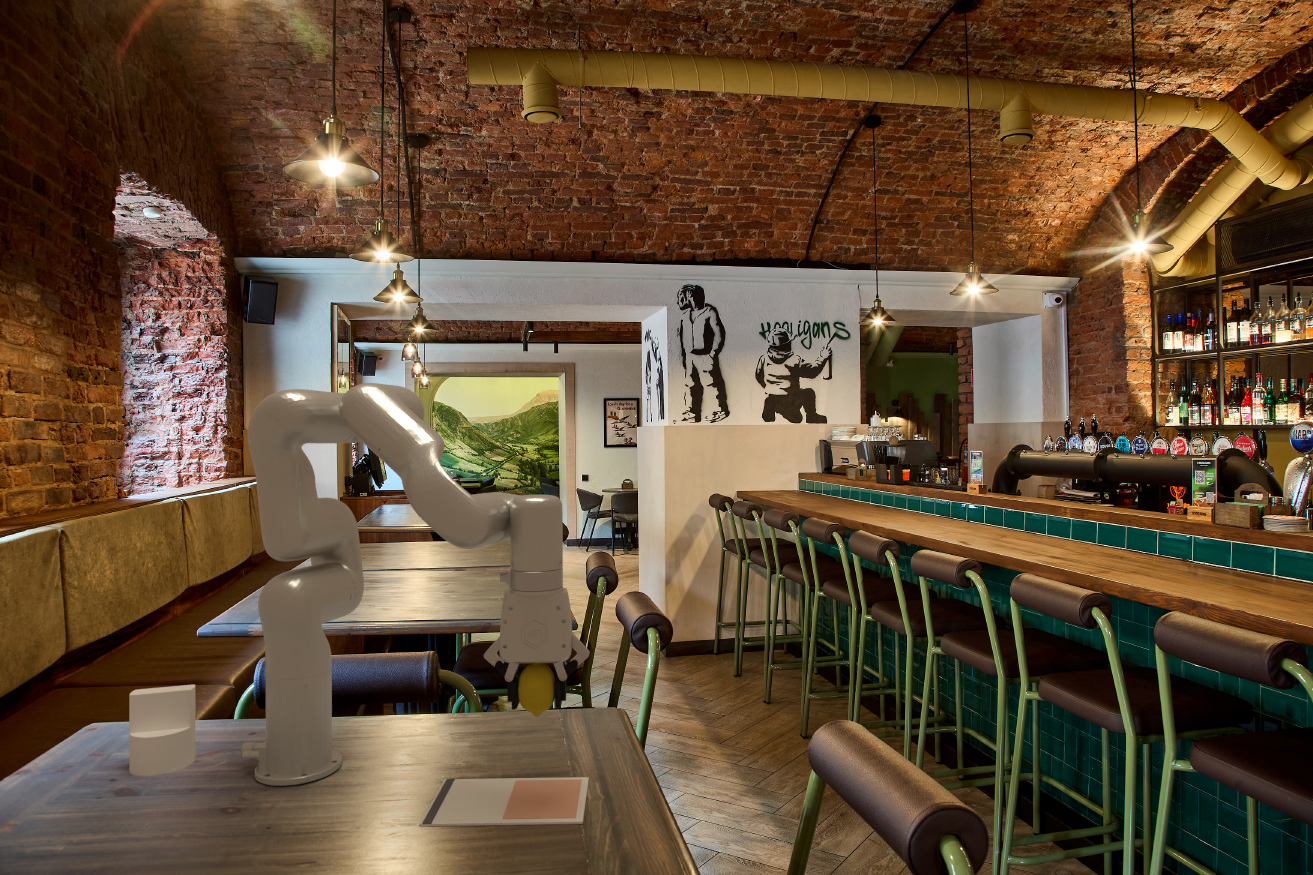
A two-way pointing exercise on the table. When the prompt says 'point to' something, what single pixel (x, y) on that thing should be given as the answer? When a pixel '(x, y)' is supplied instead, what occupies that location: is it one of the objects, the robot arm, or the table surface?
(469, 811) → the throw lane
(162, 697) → the base with upright slab
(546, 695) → the lemon
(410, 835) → the table surface
